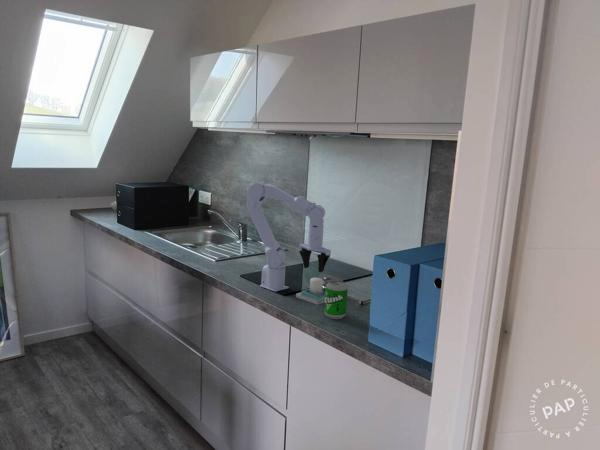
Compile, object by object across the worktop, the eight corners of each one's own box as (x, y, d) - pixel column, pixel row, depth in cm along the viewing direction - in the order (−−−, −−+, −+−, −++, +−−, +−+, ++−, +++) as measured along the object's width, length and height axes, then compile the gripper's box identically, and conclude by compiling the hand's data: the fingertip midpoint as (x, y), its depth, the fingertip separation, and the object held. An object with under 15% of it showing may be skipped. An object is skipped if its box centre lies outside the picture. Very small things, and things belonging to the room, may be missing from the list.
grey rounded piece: (306, 294, 176) (307, 279, 175) (318, 290, 181) (319, 276, 180) (316, 297, 173) (317, 282, 172) (327, 294, 178) (328, 279, 177)
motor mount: (295, 297, 177) (296, 278, 175) (325, 288, 190) (327, 271, 188) (319, 305, 168) (320, 286, 167) (348, 296, 182) (350, 278, 180)
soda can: (332, 310, 164) (334, 278, 162) (349, 316, 159) (352, 283, 157) (319, 315, 158) (321, 282, 156) (336, 321, 153) (339, 287, 151)
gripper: (295, 234, 182) (293, 267, 184) (323, 240, 173) (321, 275, 175) (306, 232, 187) (304, 264, 190) (334, 238, 178) (332, 272, 180)
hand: (313, 269), depth 183 cm, fingers open, 7 cm apart
